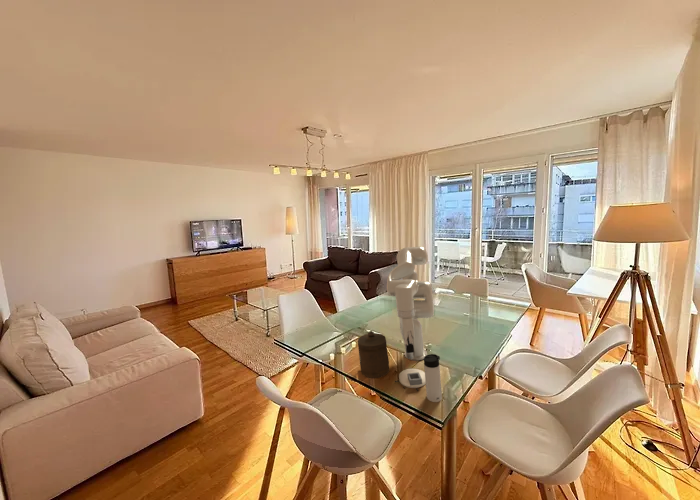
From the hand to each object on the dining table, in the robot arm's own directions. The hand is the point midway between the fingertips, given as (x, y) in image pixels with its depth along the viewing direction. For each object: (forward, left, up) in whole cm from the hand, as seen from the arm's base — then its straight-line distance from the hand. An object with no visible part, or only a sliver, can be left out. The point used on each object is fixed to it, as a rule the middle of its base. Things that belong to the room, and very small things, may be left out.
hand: (409, 349), depth 128 cm
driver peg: (0, 0, -4) cm, 4 cm away
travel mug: (+10, +7, -19) cm, 23 cm away
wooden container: (-16, -16, -19) cm, 30 cm away
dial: (-4, +1, -17) cm, 18 cm away
